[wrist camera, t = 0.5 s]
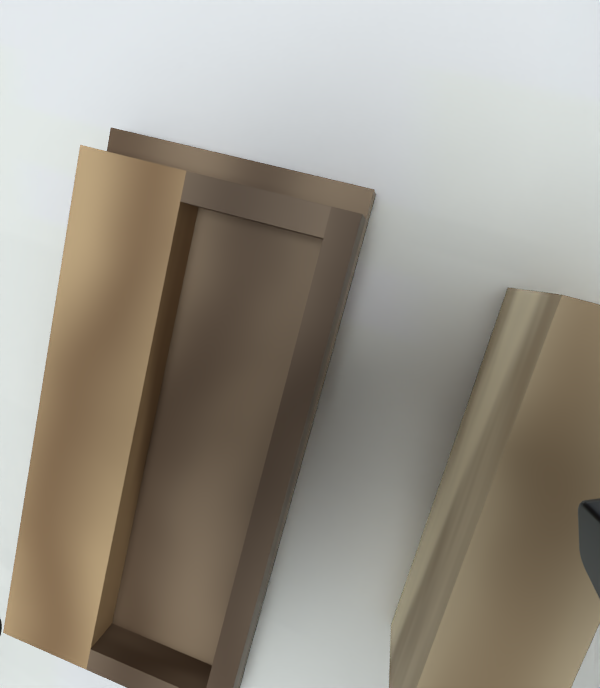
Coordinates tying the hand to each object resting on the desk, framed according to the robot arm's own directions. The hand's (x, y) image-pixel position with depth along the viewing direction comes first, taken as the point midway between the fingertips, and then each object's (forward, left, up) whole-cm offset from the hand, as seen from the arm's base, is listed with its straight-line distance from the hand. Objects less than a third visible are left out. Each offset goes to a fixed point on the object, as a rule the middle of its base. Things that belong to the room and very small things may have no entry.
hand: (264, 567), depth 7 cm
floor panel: (+6, +4, -12) cm, 14 cm away
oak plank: (-6, +2, -12) cm, 13 cm away
